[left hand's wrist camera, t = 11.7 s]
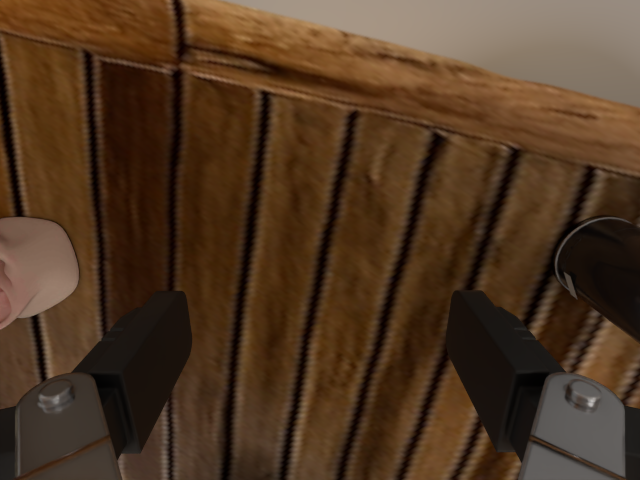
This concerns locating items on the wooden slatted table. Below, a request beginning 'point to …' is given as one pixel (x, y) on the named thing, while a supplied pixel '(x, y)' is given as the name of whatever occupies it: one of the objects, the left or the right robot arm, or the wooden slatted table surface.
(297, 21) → the wooden slatted table surface
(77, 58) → the wooden slatted table surface
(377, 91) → the wooden slatted table surface
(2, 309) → the anatomical model
